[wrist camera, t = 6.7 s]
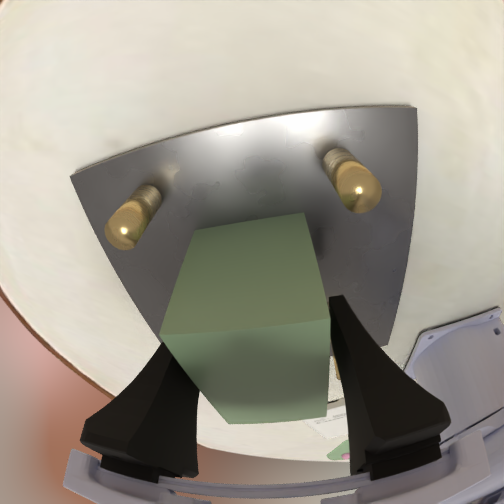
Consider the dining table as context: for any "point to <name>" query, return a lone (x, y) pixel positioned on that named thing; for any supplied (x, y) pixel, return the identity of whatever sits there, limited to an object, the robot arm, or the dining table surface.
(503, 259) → the dining table surface
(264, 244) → the board block
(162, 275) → the chassis
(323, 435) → the external hard drive
